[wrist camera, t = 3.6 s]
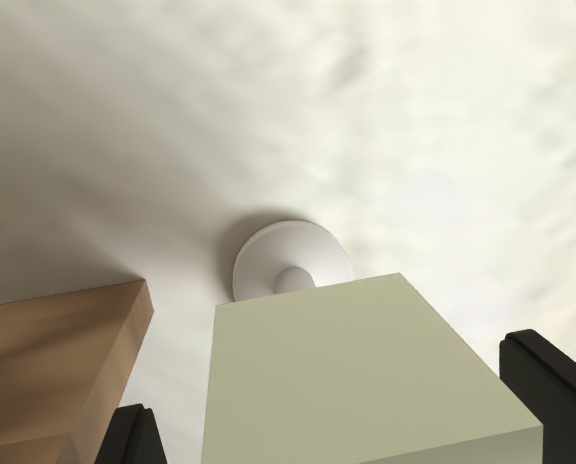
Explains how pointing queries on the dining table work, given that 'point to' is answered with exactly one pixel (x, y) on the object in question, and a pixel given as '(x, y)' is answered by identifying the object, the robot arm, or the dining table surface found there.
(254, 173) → the dining table surface
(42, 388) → the keyhole shelf
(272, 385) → the peg
